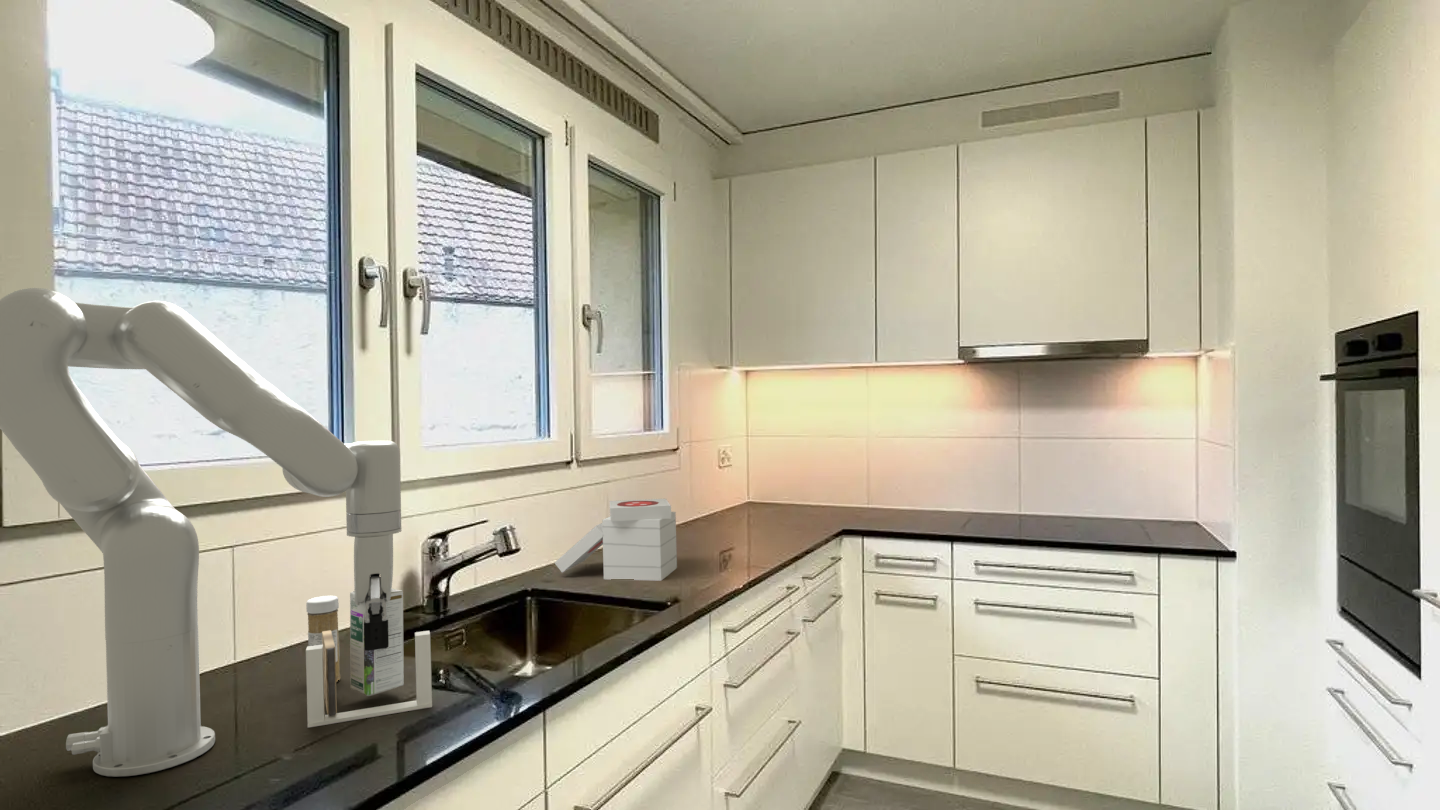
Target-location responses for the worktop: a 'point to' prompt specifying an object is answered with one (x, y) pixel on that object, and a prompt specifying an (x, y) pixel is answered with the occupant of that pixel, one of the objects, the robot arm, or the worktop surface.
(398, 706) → the door frame
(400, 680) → the syrup box
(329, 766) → the worktop surface
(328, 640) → the door
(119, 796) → the worktop surface
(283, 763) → the worktop surface
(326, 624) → the sprinkles bottle
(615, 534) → the stacked pizza boxes
